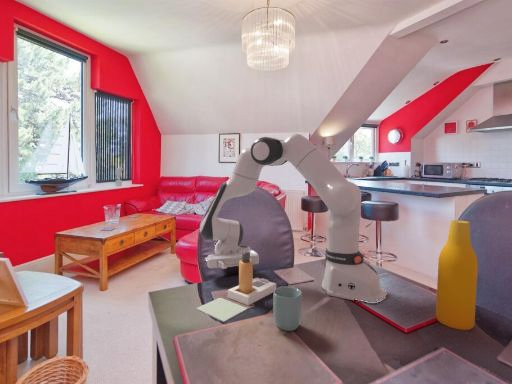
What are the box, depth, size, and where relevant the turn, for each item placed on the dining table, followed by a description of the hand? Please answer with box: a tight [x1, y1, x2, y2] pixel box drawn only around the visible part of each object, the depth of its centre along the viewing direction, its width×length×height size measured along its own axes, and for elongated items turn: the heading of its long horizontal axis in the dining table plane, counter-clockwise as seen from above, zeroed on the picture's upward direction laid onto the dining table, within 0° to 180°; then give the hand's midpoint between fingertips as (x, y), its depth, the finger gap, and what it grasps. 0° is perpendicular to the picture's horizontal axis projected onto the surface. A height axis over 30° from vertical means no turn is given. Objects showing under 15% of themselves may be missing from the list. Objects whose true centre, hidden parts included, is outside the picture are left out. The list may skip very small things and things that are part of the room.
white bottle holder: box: [227, 277, 277, 306], centre depth 100 cm, size 15×9×4 cm, turn 141°
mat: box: [195, 297, 248, 323], centre depth 89 cm, size 12×10×1 cm
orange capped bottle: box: [238, 252, 254, 295], centre depth 97 cm, size 4×4×15 cm
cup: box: [272, 285, 303, 332], centre depth 81 cm, size 8×8×10 cm
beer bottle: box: [435, 219, 479, 331], centre depth 83 cm, size 9×9×29 cm
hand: (237, 265), depth 108 cm, fingers open, 8 cm apart
